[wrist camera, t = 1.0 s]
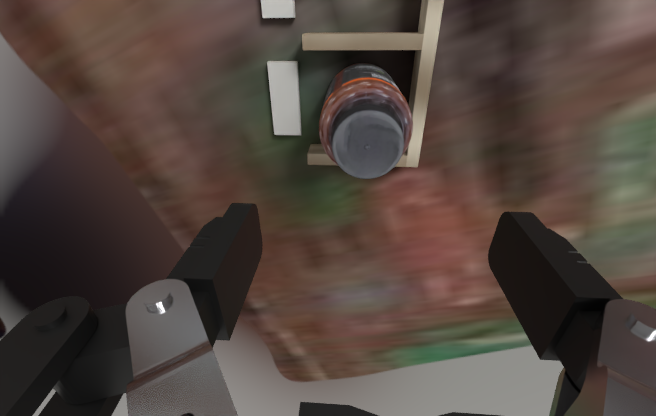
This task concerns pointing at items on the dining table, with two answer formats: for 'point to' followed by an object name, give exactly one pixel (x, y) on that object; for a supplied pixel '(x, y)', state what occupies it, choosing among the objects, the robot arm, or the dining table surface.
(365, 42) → the divider rack
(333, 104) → the supplement bottle
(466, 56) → the dining table surface
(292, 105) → the bezel tiles
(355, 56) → the dining table surface
